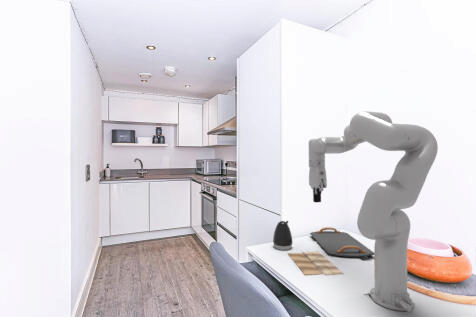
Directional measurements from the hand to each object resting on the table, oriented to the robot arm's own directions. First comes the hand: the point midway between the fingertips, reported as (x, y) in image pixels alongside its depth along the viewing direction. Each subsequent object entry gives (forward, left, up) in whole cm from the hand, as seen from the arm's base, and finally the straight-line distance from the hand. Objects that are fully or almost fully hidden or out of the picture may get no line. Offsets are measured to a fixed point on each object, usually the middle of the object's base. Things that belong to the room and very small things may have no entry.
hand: (317, 201), depth 117 cm
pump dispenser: (+13, +13, -28) cm, 33 cm away
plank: (-7, +10, -27) cm, 30 cm away
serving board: (+14, -18, -28) cm, 36 cm away
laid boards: (-7, +1, -28) cm, 28 cm away
